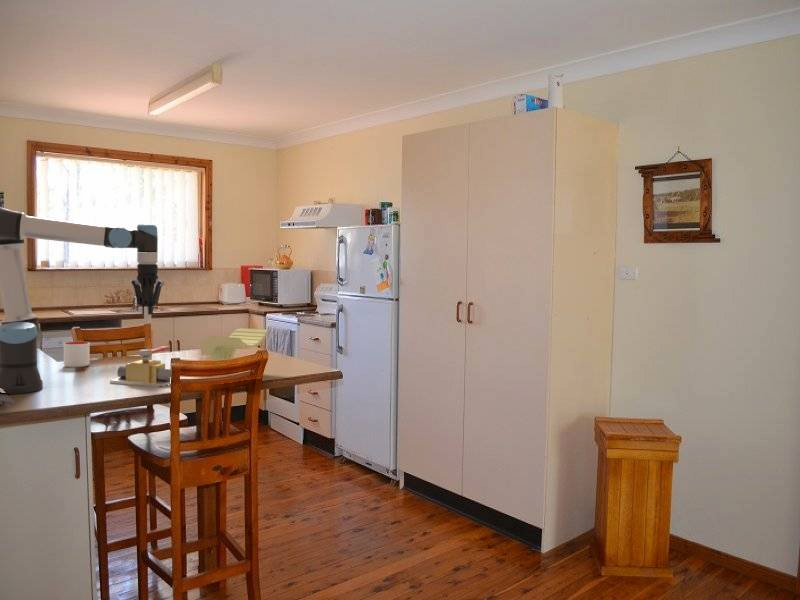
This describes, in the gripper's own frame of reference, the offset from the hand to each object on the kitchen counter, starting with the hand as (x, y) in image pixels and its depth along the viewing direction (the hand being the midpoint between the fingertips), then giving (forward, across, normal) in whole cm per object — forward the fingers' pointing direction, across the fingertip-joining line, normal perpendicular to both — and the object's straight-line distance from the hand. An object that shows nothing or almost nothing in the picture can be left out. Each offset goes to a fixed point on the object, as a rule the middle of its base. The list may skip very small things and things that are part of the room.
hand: (147, 322), depth 251 cm
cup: (+22, +41, -11) cm, 48 cm away
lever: (+11, -5, +3) cm, 13 cm away
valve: (+22, -5, +10) cm, 25 cm away
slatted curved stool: (+23, -30, -16) cm, 41 cm away
